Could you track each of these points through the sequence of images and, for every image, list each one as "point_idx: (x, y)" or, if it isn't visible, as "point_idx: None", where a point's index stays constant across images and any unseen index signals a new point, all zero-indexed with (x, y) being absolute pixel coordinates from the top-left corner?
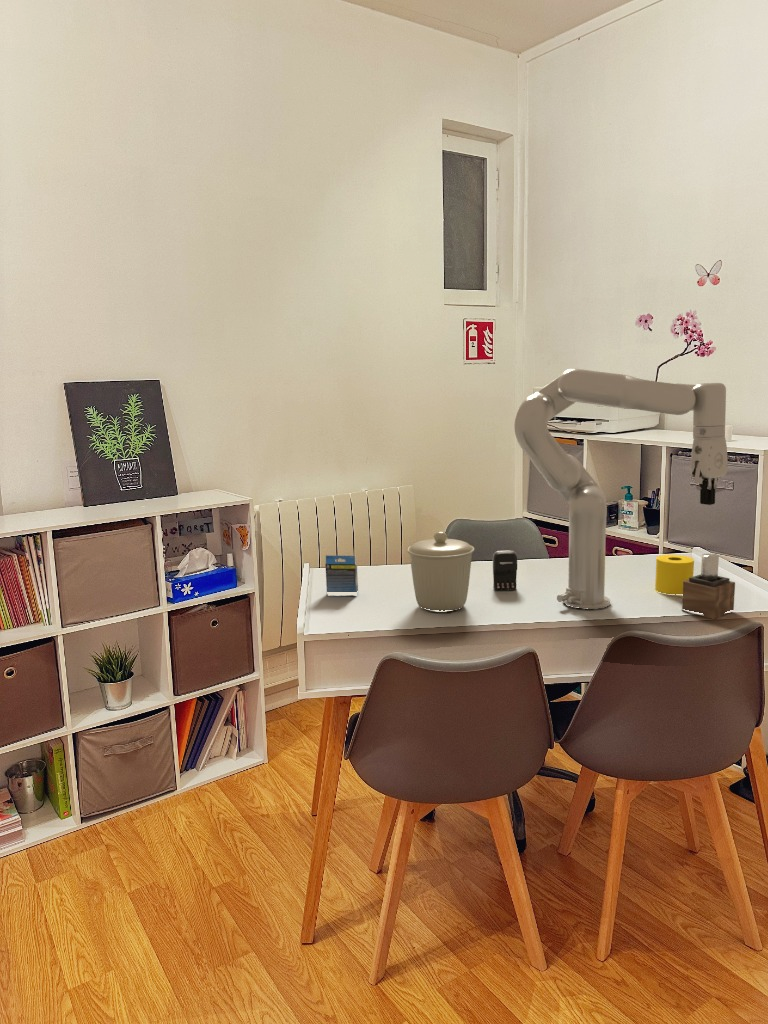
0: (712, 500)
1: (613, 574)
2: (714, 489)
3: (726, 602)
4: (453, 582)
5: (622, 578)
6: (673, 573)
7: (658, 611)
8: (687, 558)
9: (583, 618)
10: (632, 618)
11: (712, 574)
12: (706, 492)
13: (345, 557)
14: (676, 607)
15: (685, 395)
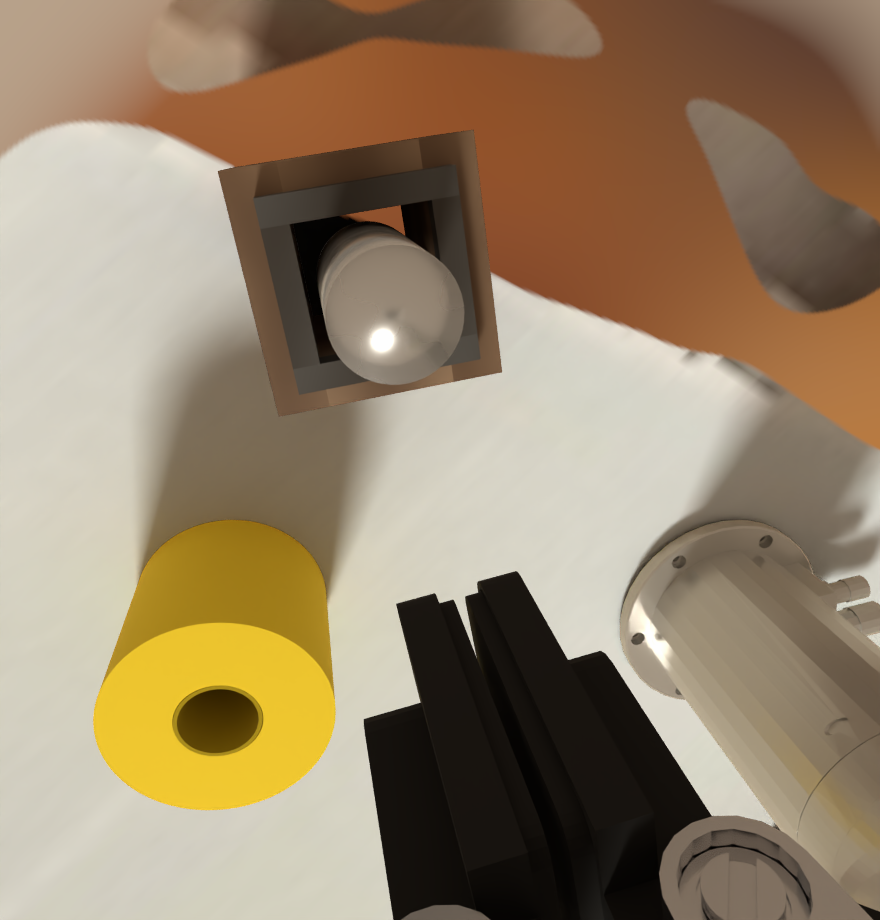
0: (508, 619)
1: (290, 891)
2: (508, 842)
3: (316, 154)
4: None
5: (301, 834)
6: (302, 610)
7: (557, 382)
8: (135, 700)
9: (874, 457)
10: (731, 359)
11: (406, 237)
12: (694, 803)
13: None
14: (435, 389)
15: None
